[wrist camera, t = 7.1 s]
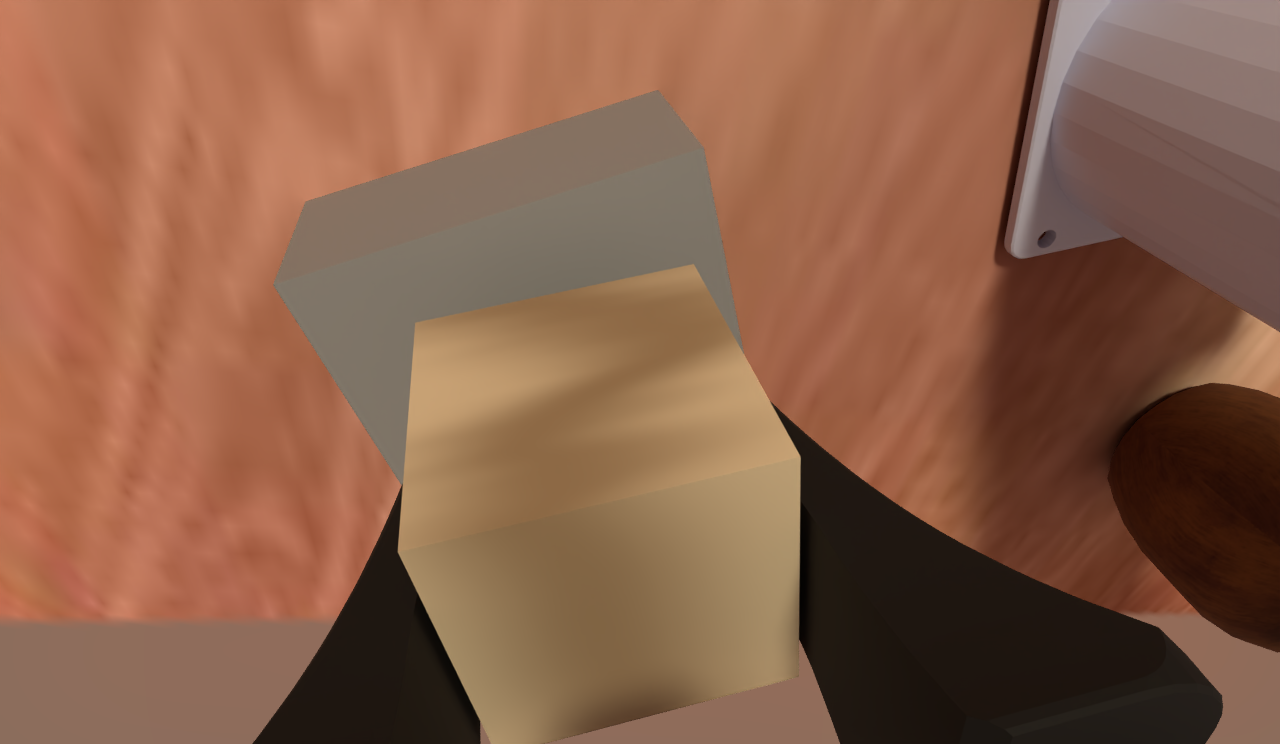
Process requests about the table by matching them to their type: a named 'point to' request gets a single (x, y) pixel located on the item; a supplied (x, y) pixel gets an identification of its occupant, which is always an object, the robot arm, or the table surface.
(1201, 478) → the wooden figurine
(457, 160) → the slate base block
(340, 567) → the table surface
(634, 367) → the maple cube
